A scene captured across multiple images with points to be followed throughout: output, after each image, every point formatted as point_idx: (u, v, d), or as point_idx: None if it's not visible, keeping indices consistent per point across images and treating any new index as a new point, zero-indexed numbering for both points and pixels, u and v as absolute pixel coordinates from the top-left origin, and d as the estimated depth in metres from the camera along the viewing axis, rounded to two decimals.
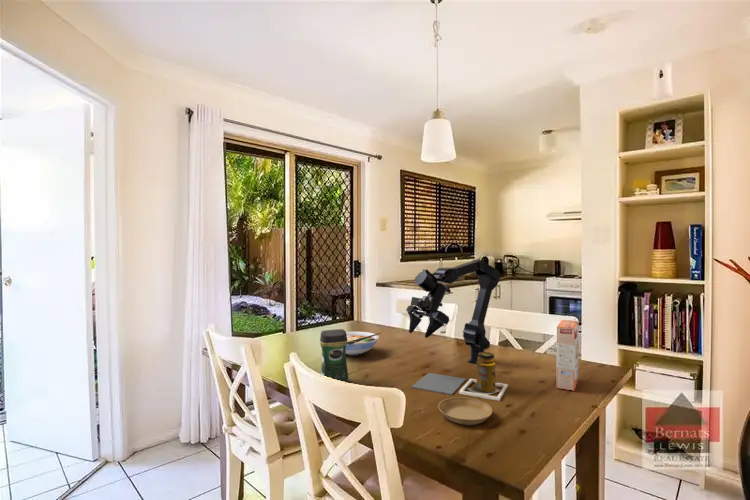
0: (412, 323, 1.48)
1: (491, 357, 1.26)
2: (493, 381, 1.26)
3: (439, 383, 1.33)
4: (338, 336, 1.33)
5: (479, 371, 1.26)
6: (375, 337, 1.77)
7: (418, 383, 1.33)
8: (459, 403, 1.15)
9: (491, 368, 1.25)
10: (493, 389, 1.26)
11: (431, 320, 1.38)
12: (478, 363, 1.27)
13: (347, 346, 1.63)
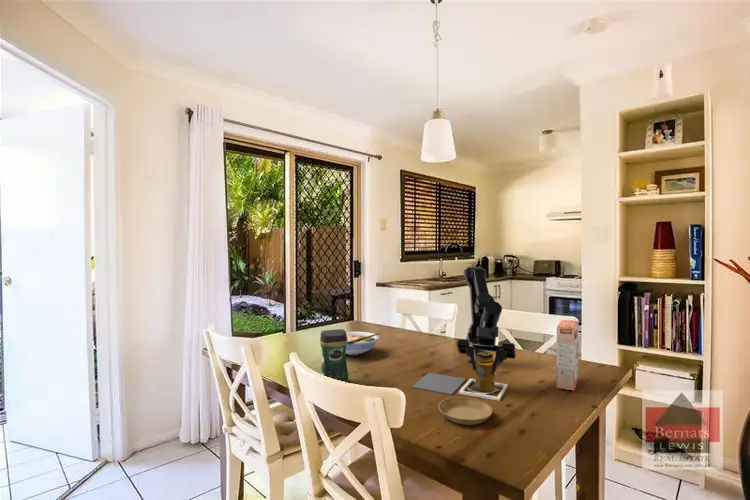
0: (474, 359, 1.29)
1: (489, 357, 1.26)
2: (492, 381, 1.26)
3: (439, 383, 1.33)
4: (338, 336, 1.33)
5: (478, 371, 1.27)
6: (375, 337, 1.77)
7: (418, 383, 1.33)
8: (459, 403, 1.15)
9: (490, 368, 1.25)
10: (492, 389, 1.26)
11: (499, 352, 1.27)
12: (477, 363, 1.27)
13: (347, 346, 1.63)
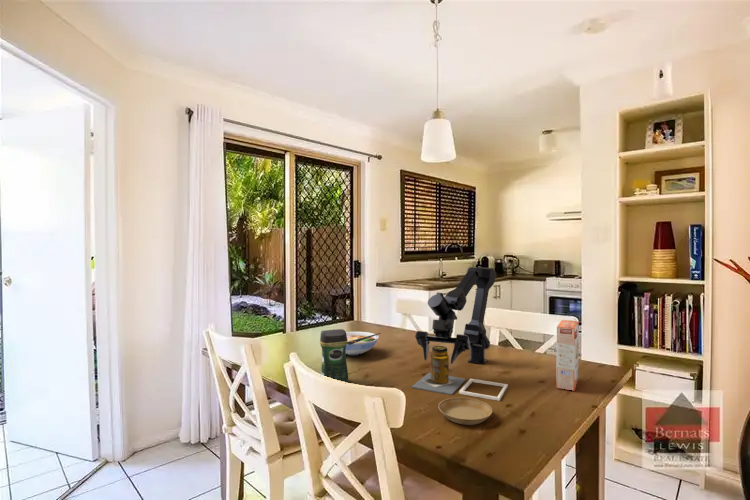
0: (426, 349, 1.37)
1: (444, 350, 1.33)
2: (446, 373, 1.33)
3: None
4: (338, 336, 1.33)
5: (433, 364, 1.33)
6: (375, 337, 1.77)
7: (418, 383, 1.33)
8: (459, 404, 1.15)
9: (444, 361, 1.32)
10: (446, 381, 1.33)
11: (457, 344, 1.33)
12: (432, 356, 1.34)
13: (347, 346, 1.63)
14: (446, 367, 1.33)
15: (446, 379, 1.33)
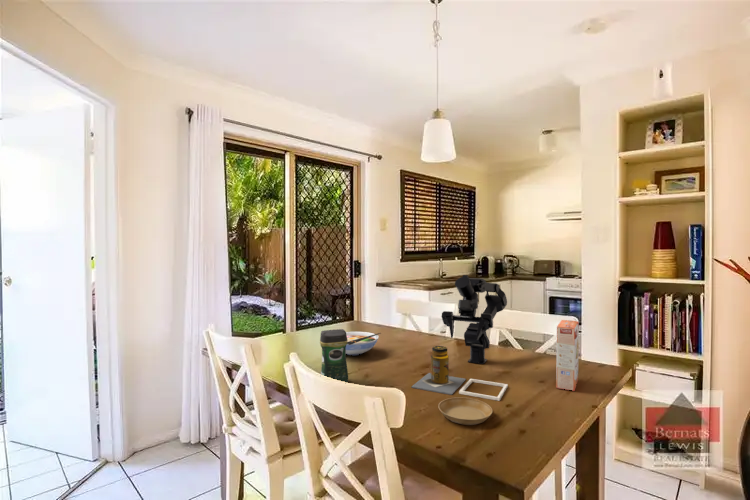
0: (452, 328, 1.46)
1: (444, 350, 1.33)
2: (446, 373, 1.33)
3: None
4: (338, 336, 1.33)
5: (433, 364, 1.33)
6: (375, 337, 1.77)
7: (418, 383, 1.33)
8: (458, 403, 1.15)
9: (444, 361, 1.32)
10: (446, 381, 1.33)
11: (482, 322, 1.43)
12: (432, 356, 1.34)
13: (347, 346, 1.63)
14: (446, 367, 1.33)
15: (446, 379, 1.33)
